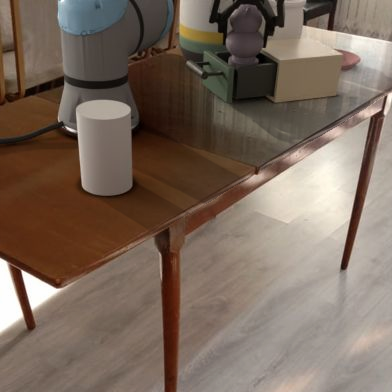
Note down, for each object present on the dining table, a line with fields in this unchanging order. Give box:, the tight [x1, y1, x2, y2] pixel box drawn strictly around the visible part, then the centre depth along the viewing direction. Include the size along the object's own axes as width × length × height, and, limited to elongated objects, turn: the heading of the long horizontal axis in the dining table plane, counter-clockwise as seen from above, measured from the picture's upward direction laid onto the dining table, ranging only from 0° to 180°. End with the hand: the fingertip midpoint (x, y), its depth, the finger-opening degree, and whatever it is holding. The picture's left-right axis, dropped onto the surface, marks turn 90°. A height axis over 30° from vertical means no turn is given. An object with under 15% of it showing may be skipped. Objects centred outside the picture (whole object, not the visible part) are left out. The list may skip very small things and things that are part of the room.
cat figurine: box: [226, 4, 264, 70], centre depth 129 cm, size 8×8×12 cm
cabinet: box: [261, 36, 344, 104], centre depth 138 cm, size 16×14×9 cm
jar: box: [259, 0, 307, 41], centre depth 149 cm, size 11×10×15 cm
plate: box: [333, 48, 362, 72], centre depth 155 cm, size 14×14×2 cm
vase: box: [178, 0, 232, 68], centre depth 145 cm, size 17×17×24 cm
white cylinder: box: [76, 100, 133, 197], centre depth 98 cm, size 8×8×12 cm
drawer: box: [185, 51, 278, 104], centre depth 133 cm, size 20×12×7 cm, turn 114°
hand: (244, 40), depth 133 cm, fingers closed on cat figurine, 8 cm apart
